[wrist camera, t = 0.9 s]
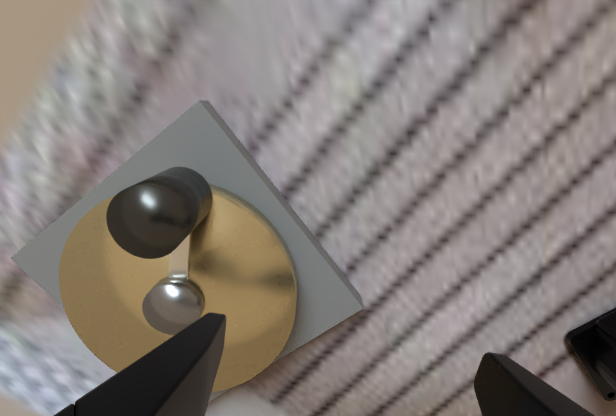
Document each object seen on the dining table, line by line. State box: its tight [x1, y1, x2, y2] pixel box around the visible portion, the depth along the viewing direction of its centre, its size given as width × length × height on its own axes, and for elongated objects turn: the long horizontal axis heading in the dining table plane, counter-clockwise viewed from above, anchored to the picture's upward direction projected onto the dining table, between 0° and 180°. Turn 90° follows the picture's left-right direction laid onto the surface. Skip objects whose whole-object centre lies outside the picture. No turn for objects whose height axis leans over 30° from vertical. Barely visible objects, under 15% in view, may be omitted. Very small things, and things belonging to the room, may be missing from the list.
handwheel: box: [59, 167, 297, 392], centre depth 18 cm, size 13×13×6 cm
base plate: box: [10, 101, 363, 402], centre depth 21 cm, size 15×15×2 cm
